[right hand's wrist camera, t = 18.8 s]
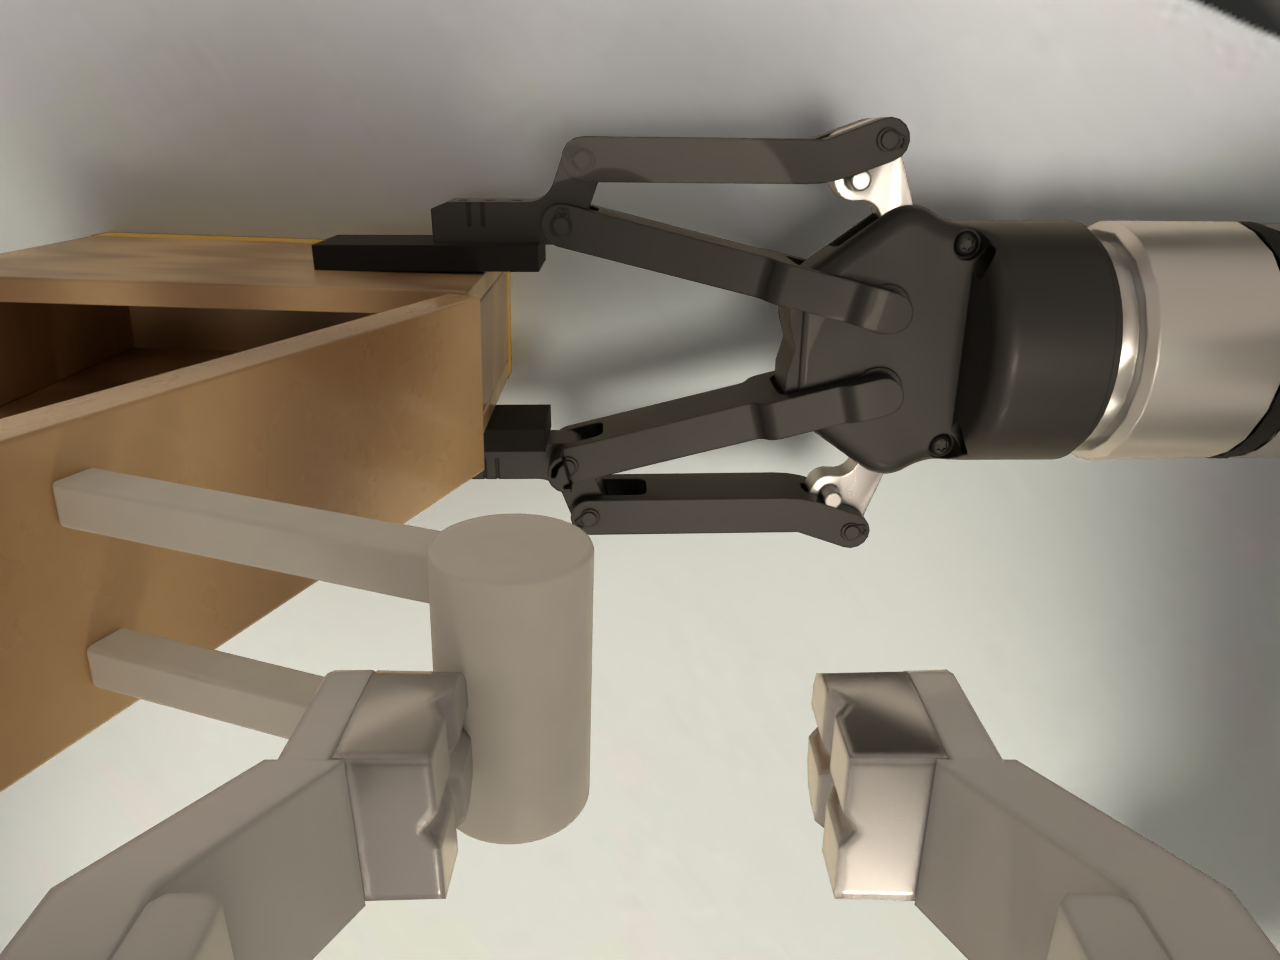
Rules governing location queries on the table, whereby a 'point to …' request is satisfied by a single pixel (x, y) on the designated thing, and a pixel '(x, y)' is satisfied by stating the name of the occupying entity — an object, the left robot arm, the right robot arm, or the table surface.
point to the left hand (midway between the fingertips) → (339, 343)
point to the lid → (289, 552)
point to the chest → (196, 309)
